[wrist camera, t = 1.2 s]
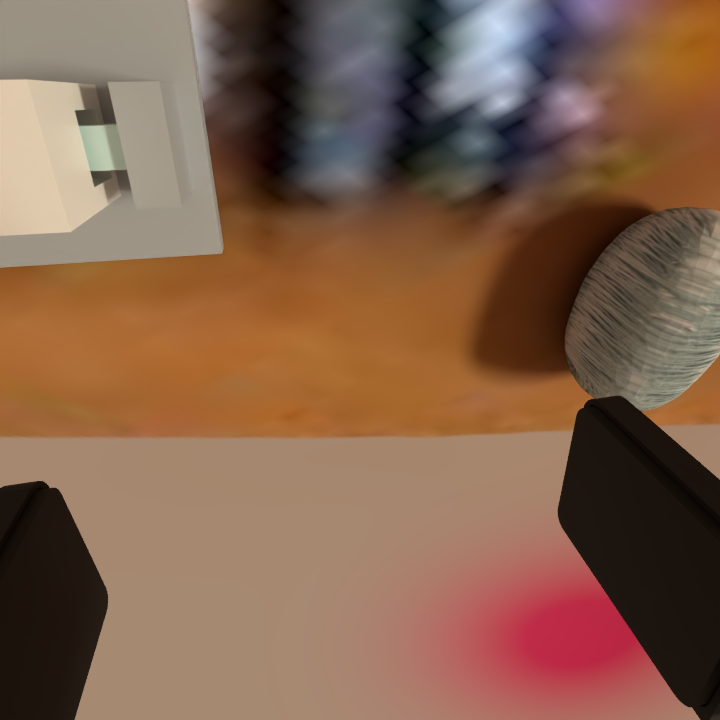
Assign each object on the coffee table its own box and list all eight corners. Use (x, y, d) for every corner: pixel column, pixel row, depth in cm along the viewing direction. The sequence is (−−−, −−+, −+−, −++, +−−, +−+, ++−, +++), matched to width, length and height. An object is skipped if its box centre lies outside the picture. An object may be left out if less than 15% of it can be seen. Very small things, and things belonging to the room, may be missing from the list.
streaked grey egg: (647, 418, 38) (716, 452, 28) (527, 370, 39) (553, 387, 29) (729, 249, 36) (834, 222, 26) (601, 204, 37) (655, 163, 28)
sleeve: (-24, 86, 22) (-147, 81, 16) (95, 84, 23) (26, 79, 16) (15, 200, 25) (-78, 240, 18) (121, 195, 25) (70, 232, 19)
